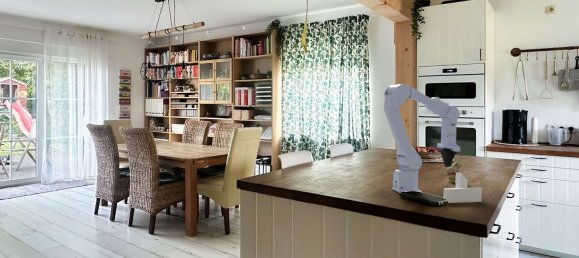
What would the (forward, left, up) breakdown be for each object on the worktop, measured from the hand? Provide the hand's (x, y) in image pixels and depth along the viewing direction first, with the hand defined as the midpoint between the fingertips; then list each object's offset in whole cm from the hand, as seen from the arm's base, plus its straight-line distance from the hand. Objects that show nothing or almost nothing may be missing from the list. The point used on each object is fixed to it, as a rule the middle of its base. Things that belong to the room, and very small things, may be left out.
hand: (447, 166), depth 158 cm
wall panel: (-6, -21, -9) cm, 24 cm away
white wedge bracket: (-2, -15, -10) cm, 18 cm away
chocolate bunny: (+12, +13, -10) cm, 20 cm away
